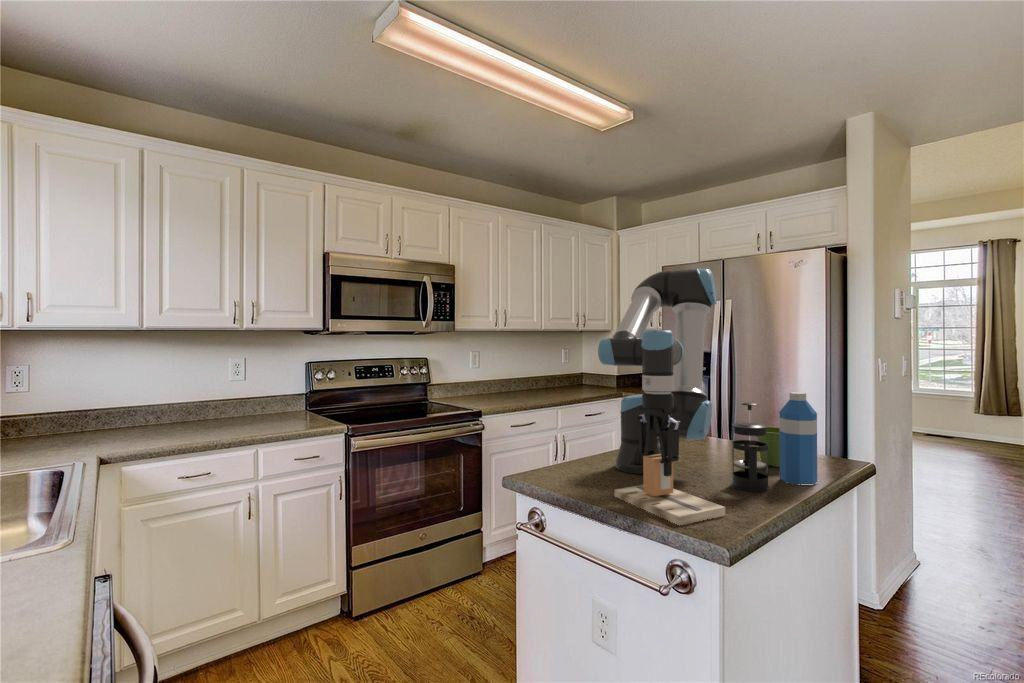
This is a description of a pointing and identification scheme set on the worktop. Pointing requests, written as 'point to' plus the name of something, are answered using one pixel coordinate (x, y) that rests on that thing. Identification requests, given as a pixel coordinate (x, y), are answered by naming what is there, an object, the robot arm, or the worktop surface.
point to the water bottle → (798, 441)
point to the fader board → (672, 505)
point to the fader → (654, 476)
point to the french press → (750, 457)
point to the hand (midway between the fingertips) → (658, 486)
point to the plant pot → (771, 446)
